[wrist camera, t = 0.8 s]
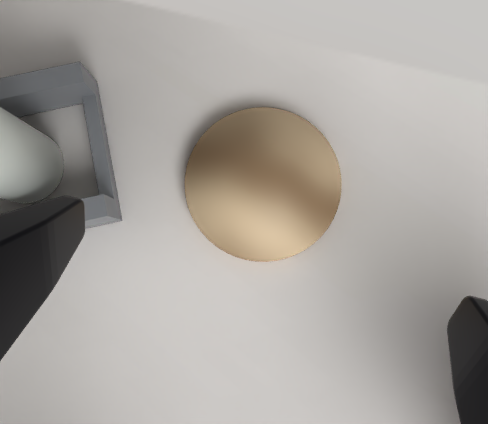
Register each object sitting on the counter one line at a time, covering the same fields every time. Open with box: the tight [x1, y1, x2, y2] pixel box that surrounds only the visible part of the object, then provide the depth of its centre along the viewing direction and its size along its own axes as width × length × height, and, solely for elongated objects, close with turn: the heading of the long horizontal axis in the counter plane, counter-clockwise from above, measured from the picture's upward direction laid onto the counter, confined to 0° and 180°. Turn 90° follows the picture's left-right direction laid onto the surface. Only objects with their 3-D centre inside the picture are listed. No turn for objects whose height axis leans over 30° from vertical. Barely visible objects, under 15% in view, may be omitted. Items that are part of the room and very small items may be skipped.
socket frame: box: [0, 62, 122, 229], centre depth 23 cm, size 9×10×2 cm
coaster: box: [185, 107, 341, 262], centre depth 24 cm, size 9×9×1 cm
